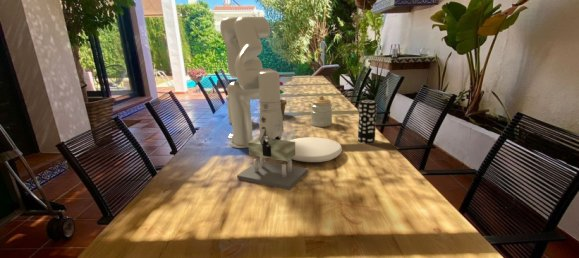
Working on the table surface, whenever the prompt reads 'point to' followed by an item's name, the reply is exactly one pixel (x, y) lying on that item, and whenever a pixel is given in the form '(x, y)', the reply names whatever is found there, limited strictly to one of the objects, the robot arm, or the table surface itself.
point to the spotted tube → (367, 121)
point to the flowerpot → (282, 102)
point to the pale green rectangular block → (273, 149)
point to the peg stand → (273, 174)
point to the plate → (315, 149)
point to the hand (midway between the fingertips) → (272, 152)
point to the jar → (321, 112)
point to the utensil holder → (230, 108)
